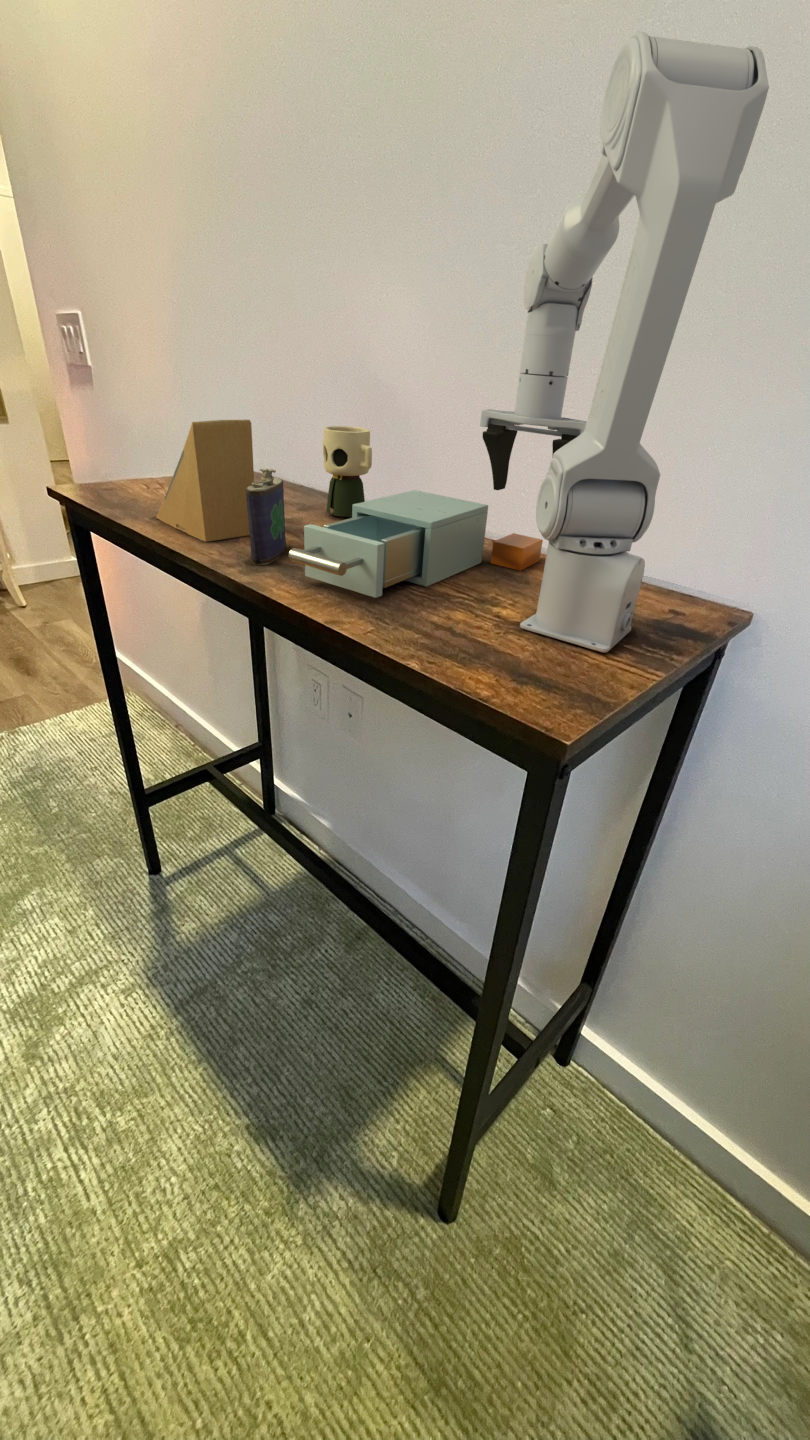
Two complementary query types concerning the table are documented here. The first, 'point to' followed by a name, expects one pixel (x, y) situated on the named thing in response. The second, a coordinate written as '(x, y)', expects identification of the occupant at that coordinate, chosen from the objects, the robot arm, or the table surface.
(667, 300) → the robot arm
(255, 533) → the flask
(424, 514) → the cabinet
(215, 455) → the sandwich container
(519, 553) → the block
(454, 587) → the table surface
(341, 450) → the character mug
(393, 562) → the drawer
